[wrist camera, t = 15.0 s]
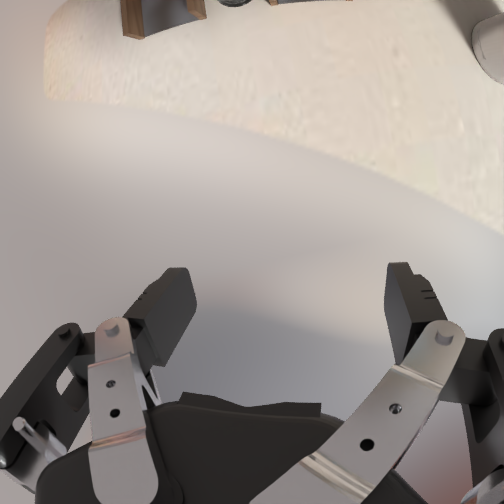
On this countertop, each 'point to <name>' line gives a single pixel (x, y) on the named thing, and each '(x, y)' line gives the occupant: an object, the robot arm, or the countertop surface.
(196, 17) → the bay rack
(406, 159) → the countertop surface
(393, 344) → the robot arm
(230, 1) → the grey chess piece
